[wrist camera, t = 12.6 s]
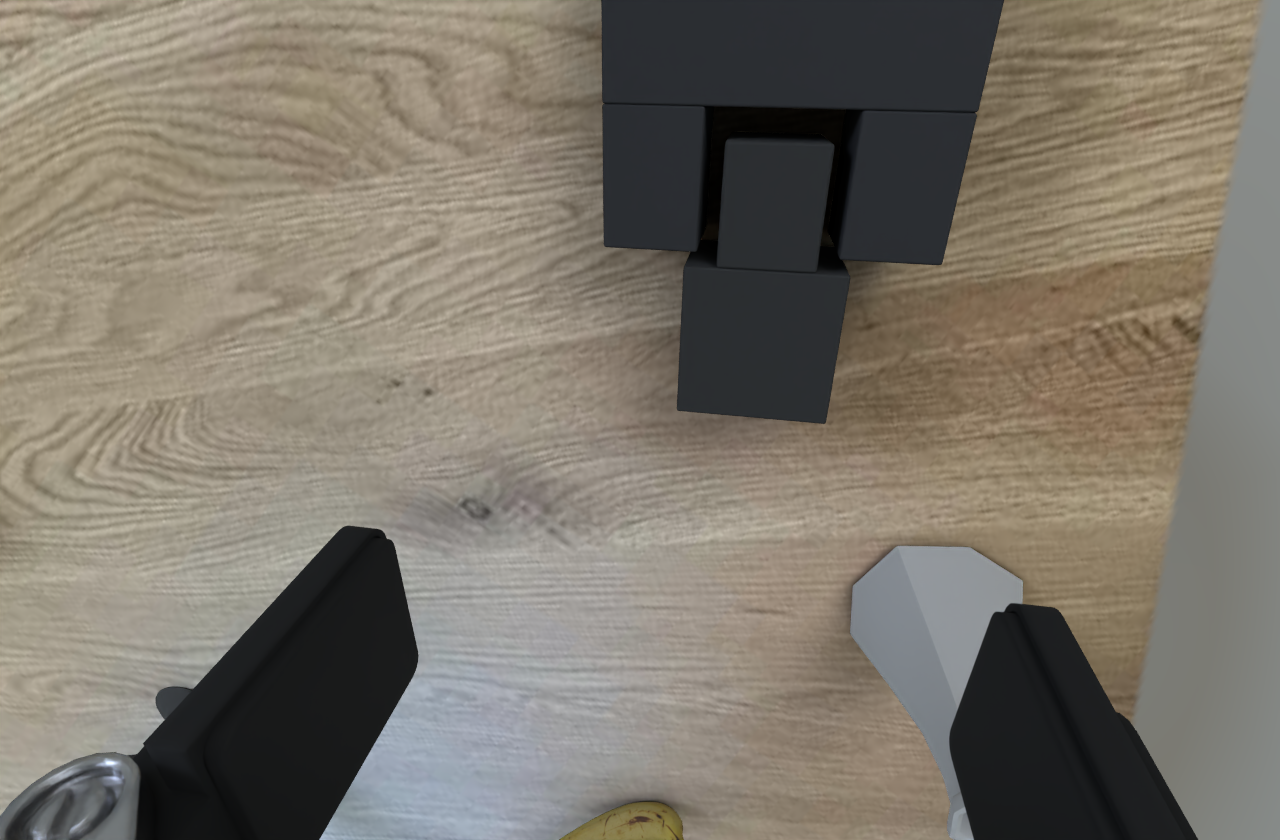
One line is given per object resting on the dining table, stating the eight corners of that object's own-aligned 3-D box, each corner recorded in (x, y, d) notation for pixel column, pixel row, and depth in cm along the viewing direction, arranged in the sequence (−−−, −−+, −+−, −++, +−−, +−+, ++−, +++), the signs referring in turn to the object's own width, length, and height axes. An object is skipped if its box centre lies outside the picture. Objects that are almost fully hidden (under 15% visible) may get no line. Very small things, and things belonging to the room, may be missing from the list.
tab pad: (817, 376, 25) (826, 424, 22) (688, 366, 26) (676, 411, 22) (855, 134, 21) (873, 144, 18) (701, 130, 22) (689, 139, 18)
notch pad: (913, 237, 22) (942, 266, 19) (626, 222, 24) (603, 247, 20) (992, -139, 17) (1050, -194, 14) (629, -129, 19) (599, -178, 15)
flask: (883, 519, 27) (941, 724, 19) (1052, 566, 27) (1191, 796, 18) (823, 636, 31) (849, 855, 22) (972, 679, 31) (1057, 918, 22)
